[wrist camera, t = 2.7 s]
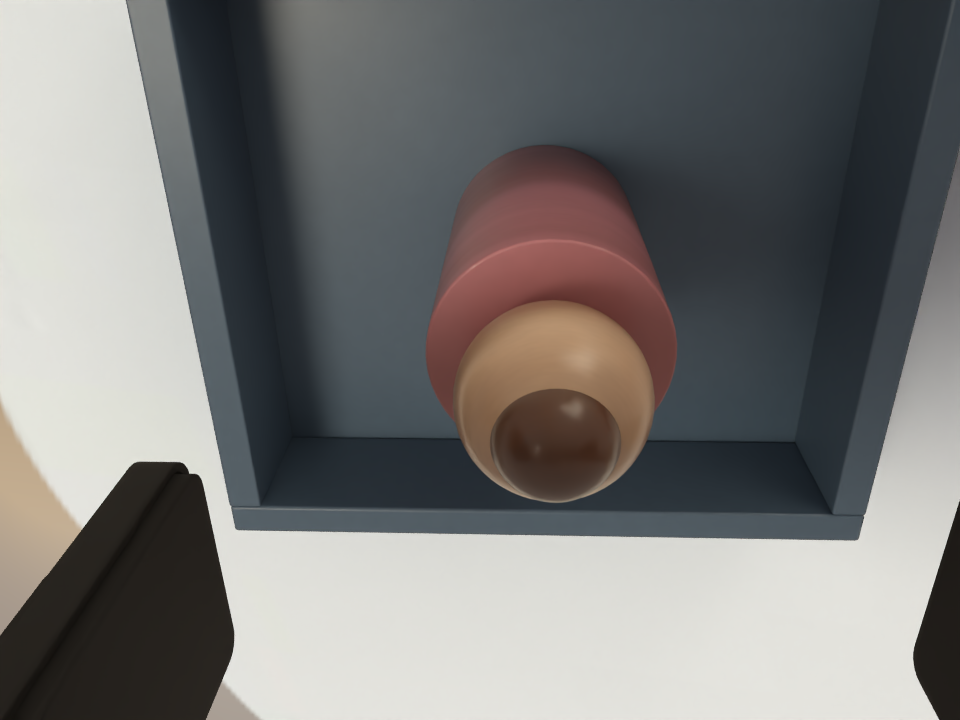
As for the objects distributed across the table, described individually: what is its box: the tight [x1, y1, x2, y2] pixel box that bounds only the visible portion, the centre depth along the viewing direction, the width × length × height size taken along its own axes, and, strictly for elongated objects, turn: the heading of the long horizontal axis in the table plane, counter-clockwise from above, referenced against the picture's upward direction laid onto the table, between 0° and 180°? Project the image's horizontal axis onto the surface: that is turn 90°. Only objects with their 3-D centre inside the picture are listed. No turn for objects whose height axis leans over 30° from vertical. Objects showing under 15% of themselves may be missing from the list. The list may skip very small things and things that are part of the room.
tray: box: [126, 0, 960, 540], centre depth 19 cm, size 14×16×4 cm
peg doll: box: [426, 145, 677, 503], centre depth 16 cm, size 4×4×10 cm
